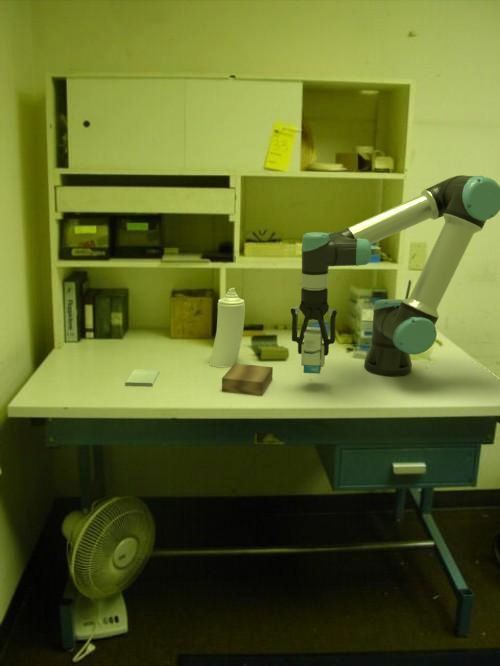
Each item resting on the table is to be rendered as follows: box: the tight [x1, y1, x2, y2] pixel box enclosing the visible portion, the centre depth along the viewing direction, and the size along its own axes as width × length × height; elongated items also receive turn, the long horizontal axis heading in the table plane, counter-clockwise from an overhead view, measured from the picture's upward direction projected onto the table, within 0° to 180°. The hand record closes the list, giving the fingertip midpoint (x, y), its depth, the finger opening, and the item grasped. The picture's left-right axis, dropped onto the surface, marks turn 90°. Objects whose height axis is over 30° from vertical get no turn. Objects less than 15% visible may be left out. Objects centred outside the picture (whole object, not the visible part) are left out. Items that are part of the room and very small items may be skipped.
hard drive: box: [124, 368, 161, 388], centre depth 187 cm, size 2×8×12 cm
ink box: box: [303, 326, 323, 375], centre depth 180 cm, size 8×5×12 cm, turn 168°
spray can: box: [209, 287, 246, 368], centre depth 201 cm, size 12×11×25 cm
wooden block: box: [221, 362, 274, 396], centre depth 183 cm, size 12×14×4 cm
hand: (313, 364), depth 182 cm, fingers closed on ink box, 5 cm apart
